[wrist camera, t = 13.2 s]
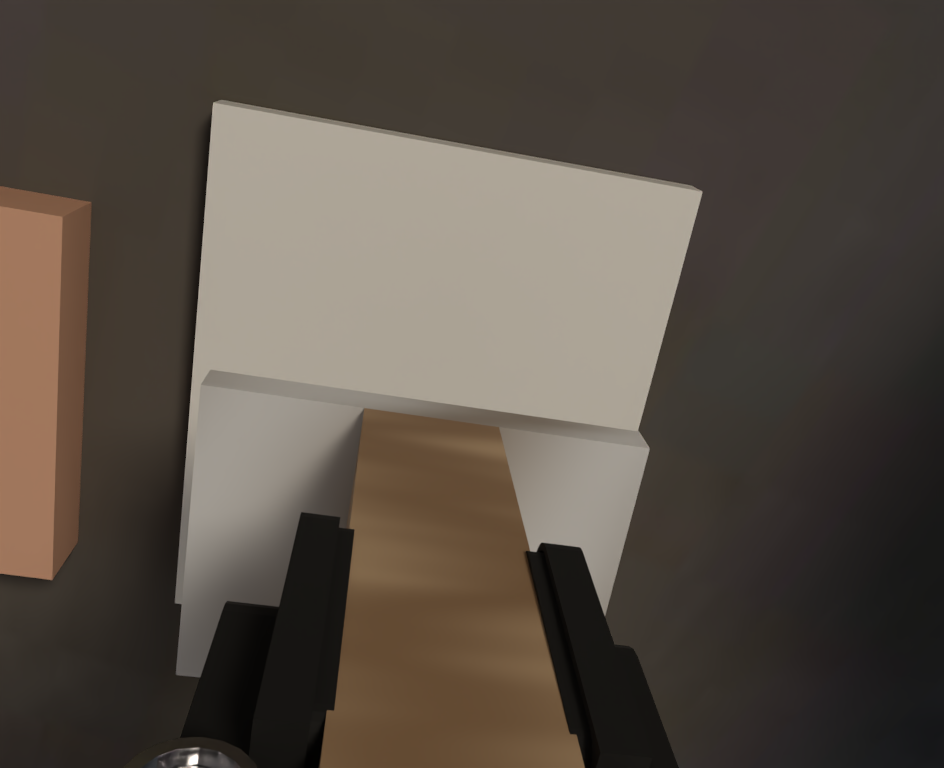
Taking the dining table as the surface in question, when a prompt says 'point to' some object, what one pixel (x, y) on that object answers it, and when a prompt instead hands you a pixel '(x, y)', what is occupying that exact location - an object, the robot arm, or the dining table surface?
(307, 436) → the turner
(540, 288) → the mat
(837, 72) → the dining table surface
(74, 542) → the terracotta tile
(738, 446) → the dining table surface
